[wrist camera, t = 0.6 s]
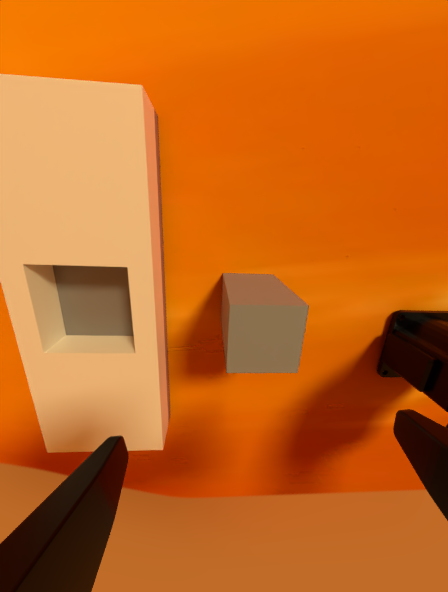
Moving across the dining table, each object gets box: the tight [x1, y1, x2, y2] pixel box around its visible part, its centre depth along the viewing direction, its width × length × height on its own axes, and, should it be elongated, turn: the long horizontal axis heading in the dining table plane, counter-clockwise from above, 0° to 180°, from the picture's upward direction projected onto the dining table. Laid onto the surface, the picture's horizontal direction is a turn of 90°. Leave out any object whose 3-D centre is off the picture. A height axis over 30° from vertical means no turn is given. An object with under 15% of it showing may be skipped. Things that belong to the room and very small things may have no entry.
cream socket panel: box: [0, 74, 170, 453], centre depth 16 cm, size 9×24×4 cm, turn 178°
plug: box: [221, 273, 309, 373], centre depth 15 cm, size 4×4×7 cm
